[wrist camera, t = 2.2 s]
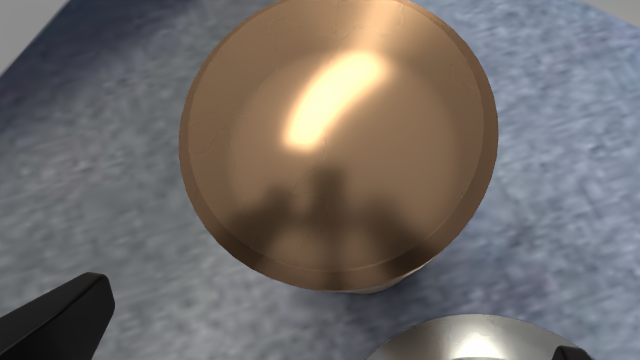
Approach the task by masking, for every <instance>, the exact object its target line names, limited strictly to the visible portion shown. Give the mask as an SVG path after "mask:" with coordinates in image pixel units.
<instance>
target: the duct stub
mask: <svg viewBox="0 0 640 360" xmlns="http://www.w3.org/2000/svg"><path fill="white" fill-rule="evenodd" d="M560 345H564V346H571V347H577V348H579V347H578V346H576V345H574V344H573V343H571V342H569V341H568V340H566V339H564V338H563V337H561V336H559V335H557V334H555V333H553V332H550V331H548V330H546V329H544V328H542V327H539V326H537V325H534V324H530V323H527V322H524V321H521V320H518V319H513V318H508V317H502V316H496V315H482V314H462V315H450V316H445V317H440V318H436V319H431V320H428V321H425V322H422V323H420V324H417V325H414V326H412V327H409V328H408V329H406V330H404V331H402V332H400V333H398V334H396V335H395V336H393V337H392V338H390V339H389V340H387V341H386V342H385V343H383V344H382V345H381V346H379V347H378V348H377V349H376V350H375V351H374V352H373V353H372V354H371V355H369V356H368V357H367V358H366V359H365V360H551V359H552V357H553V354H554V352H555V350H556V348H557V347H558V346H560ZM589 356H590V355H589ZM590 357H591V356H590ZM591 358H592V357H591ZM592 359H593V360H595V359H594V358H592Z"/></svg>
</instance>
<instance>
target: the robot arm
mask: <svg viewBox="0 0 640 360" xmlns="http://www.w3.org/2000/svg"><path fill="white" fill-rule="evenodd" d="M114 309H115V301H114V297H113V294H112V290H111V286H110V283H109V279H108V277H107V276H106V275H104V274H98V273H92V272H87V273H84V274H82V275H80V276H78V277H76V278H74V279H72V280H70V281H69V282H67V283H65V284H63V285H61V286H59V287H57V288H55V289H53V290H52V291H50V292H48V293H46V294H44V295H42V296H40V297H38V298H36V299H35V300H33V301H31V302H29V303H27V304H25V305H23V306H21V307H20V308H18V309H16V310H14V311H12V312H10V313H8V314H6V315H4V316H3V317H1V318H0V360H91V359H92V357H93V355H94V353H95V351H96V349H97V347H98V345H99V343H100V340H101V338H102V336H103V334H104V332H105V330H106V328H107V326H108V324H109V322H110V319H111V317H112V315H113V313H114ZM551 360H593V359H592V358H591V357H590V356H589V355H588V354H587V352H586V351H584V350H583V349H581V348H577V347H571V346H564V345H560V346H558V347H557V348H556V350H555V352H554V354H553V357H552V359H551Z"/></svg>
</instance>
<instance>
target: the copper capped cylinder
mask: <svg viewBox="0 0 640 360" xmlns="http://www.w3.org/2000/svg"><path fill="white" fill-rule="evenodd" d="M497 147H498V116H497V111H496V106H495V101H494V96H493V93H492V90H491V87H490V84H489V81H488V79H487V76H486V74H485V72H484V70H483V68H482V66H481V65H480V63H479V61H478V59H477V58H476V56H475V55H474V53H473V52H472V51H471V49H470V48H469V46H468V45H467V44H466V42H465V41H464V40H463V39H462V38H461V37H460V36H459V35H458V34H457V33H456V32H455V31H454V30H453V29H452V28H451V27H450V26H449V25H447V24H446V23H445V22H444V21H442V20H441V19H440V18H439V17H437V16H436V15H434V14H433V13H431V12H429V11H428V10H426V9H425V8H423V7H421V6H419V5H417V4H415V3H413V2H410V1H408V0H280V1H278V2H275V3H273V4H271V5H269V6H267V7H265V8H263V9H262V10H260V11H258V12H256V13H255V14H253V15H252V16H250V17H249V18H247V19H246V20H244V21H243V22H241V23H240V24H239V25H238V26H237V27H235V28H234V29H233V30H232V31H231V32H230V33H228V34H227V35H226V36H225V37H224V38H223V40H222V41H221V42H220V43H219V44H218V45H217V46H216V47H215V48H214V49H213V51H212V52H211V53H210V55H209V56H208V58H207V59H206V60H205V62H204V63H203V65H202V66H201V68H200V70H199V72H198V73H197V75H196V77H195V79H194V81H193V83H192V85H191V88H190V90H189V93H188V95H187V98H186V101H185V105H184V109H183V113H182V117H181V124H180V132H179V158H180V165H181V172H182V177H183V180H184V184H185V187H186V191H187V194H188V196H189V198H190V200H191V203H192V205H193V207H194V210H195V211H196V213H197V215H198V216H199V218H200V220H201V221H202V223H203V224H204V226H205V228H206V229H207V230H208V231H209V232H210V234H211V235H212V236H213V237H214V238H215V239H216V241H217V242H218V243H219V244H220V245H221V246H222V247H223V248H225V249H226V250H227V251H228V252H229V253H230V254H231V255H232V256H233V257H235V258H236V259H238V260H239V261H241V262H242V263H244V264H245V265H247V266H248V267H250V268H251V269H253V270H255V271H257V272H259V273H261V274H263V275H265V276H267V277H269V278H272V279H275V280H278V281H281V282H284V283H287V284H290V285H293V286H297V287H301V288H305V289H310V290H316V291H321V292H341V293H343V292H348V293H354V294H371V293H376V292H380V291H383V290H386V289H388V288H390V287H392V286H394V285H396V284H397V283H398V282H400V281H401V280H402V279H404V278H405V277H406V276H408V275H409V274H411V273H413V272H415V271H417V270H419V269H420V268H421V267H423V266H424V265H426V264H427V263H428V262H430V261H431V260H432V259H434V258H435V257H436V256H437V255H438V254H439V253H440V252H441V251H442V250H443V249H444V248H445V247H446V246H448V245H449V244H450V243H451V242H452V241H453V240H454V239H455V238H456V237H457V236H458V235H459V233H460V232H461V231H462V229H463V228H464V227H465V226H466V224H467V223H468V222H469V221H470V219H471V218H472V217H473V215H474V213H475V211H476V210H477V208H478V206H479V205H480V203H481V201H482V199H483V198H484V195H485V193H486V190H487V188H488V185H489V183H490V180H491V178H492V174H493V169H494V165H495V161H496V157H497Z"/></svg>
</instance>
